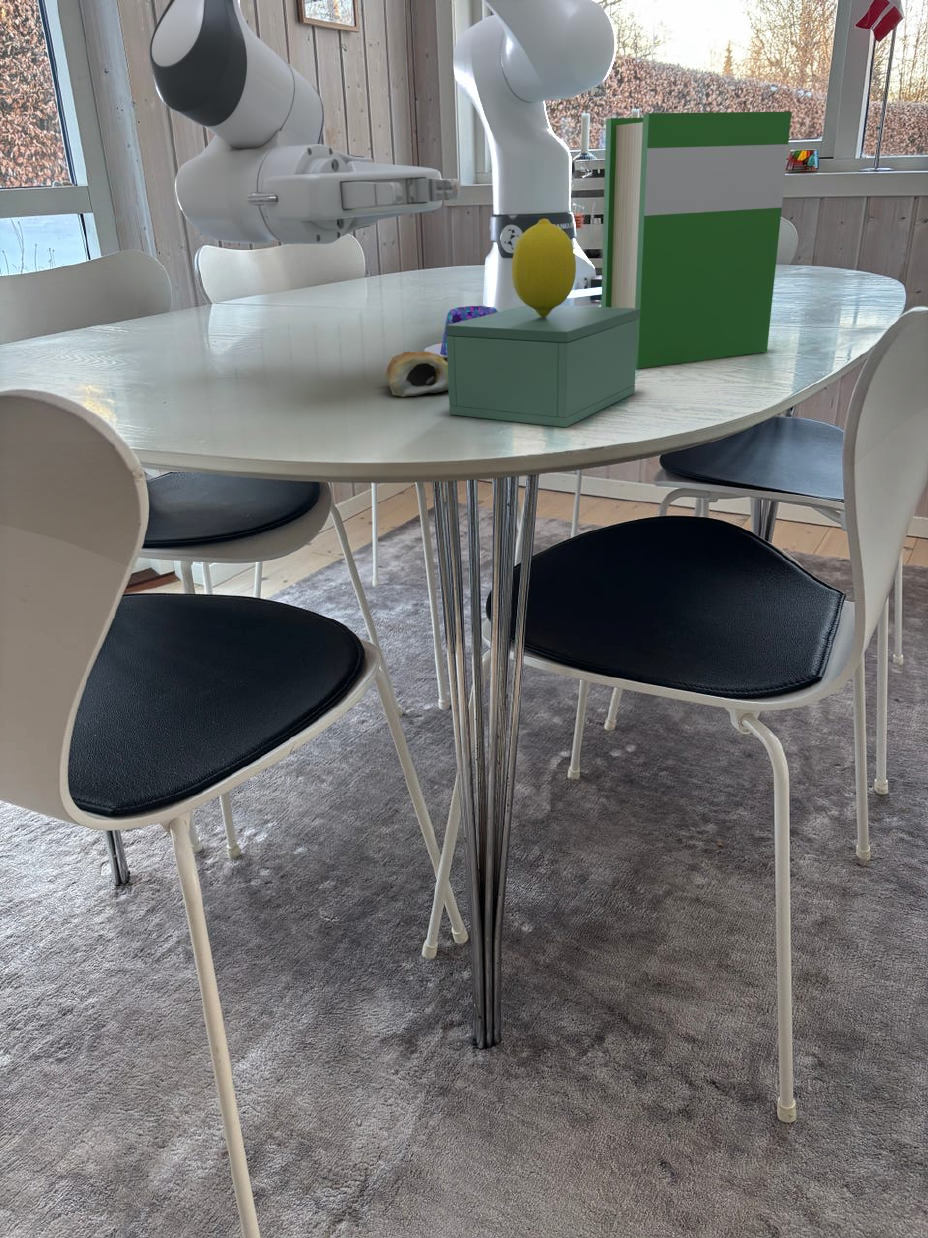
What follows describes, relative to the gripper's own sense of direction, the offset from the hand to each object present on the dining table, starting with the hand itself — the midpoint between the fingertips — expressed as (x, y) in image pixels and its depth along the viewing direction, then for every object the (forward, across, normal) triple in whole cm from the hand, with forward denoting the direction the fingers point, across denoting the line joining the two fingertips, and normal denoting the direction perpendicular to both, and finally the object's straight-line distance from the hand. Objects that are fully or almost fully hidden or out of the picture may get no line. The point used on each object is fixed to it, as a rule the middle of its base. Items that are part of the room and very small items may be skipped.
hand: (428, 191), depth 83 cm
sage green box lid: (+12, 0, +11) cm, 16 cm away
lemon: (+12, 0, +11) cm, 16 cm away
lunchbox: (+12, 0, +18) cm, 22 cm away
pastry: (-3, +1, +18) cm, 19 cm away
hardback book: (+15, +28, +18) cm, 37 cm away
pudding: (-8, +20, +18) cm, 28 cm away
